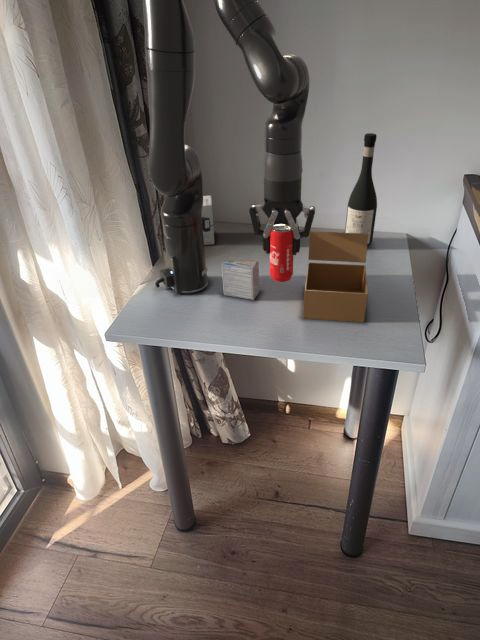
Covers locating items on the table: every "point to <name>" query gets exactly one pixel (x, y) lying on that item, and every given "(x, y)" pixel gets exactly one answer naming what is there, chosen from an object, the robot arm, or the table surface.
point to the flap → (338, 246)
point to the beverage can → (281, 253)
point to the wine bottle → (363, 195)
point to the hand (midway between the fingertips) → (281, 252)
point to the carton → (335, 292)
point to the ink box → (207, 221)
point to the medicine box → (240, 277)
